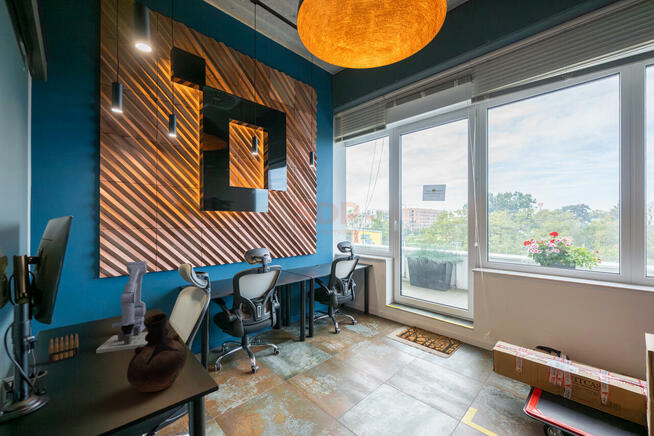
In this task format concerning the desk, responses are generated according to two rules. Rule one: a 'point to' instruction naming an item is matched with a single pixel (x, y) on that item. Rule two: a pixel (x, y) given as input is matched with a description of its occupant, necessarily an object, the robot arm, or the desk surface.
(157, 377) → the ceramic vessel
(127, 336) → the block
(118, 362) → the desk surface
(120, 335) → the block
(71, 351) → the ammunition clip
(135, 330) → the block
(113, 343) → the breaker panel
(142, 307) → the robot arm
